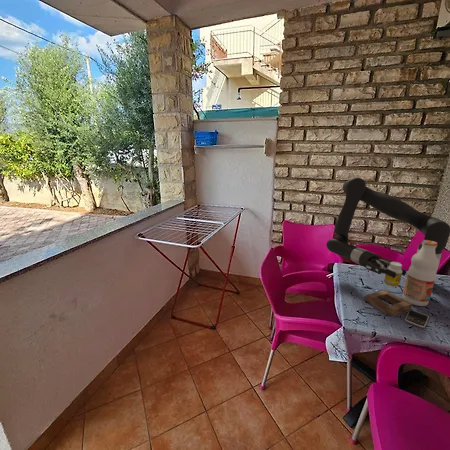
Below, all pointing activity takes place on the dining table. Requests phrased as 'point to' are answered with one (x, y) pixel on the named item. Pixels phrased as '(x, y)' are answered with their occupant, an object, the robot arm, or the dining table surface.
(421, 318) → the cell phone
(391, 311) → the walnut holder
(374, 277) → the dining table surface
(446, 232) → the robot arm
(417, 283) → the fruit juice
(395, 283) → the supplement bottle
